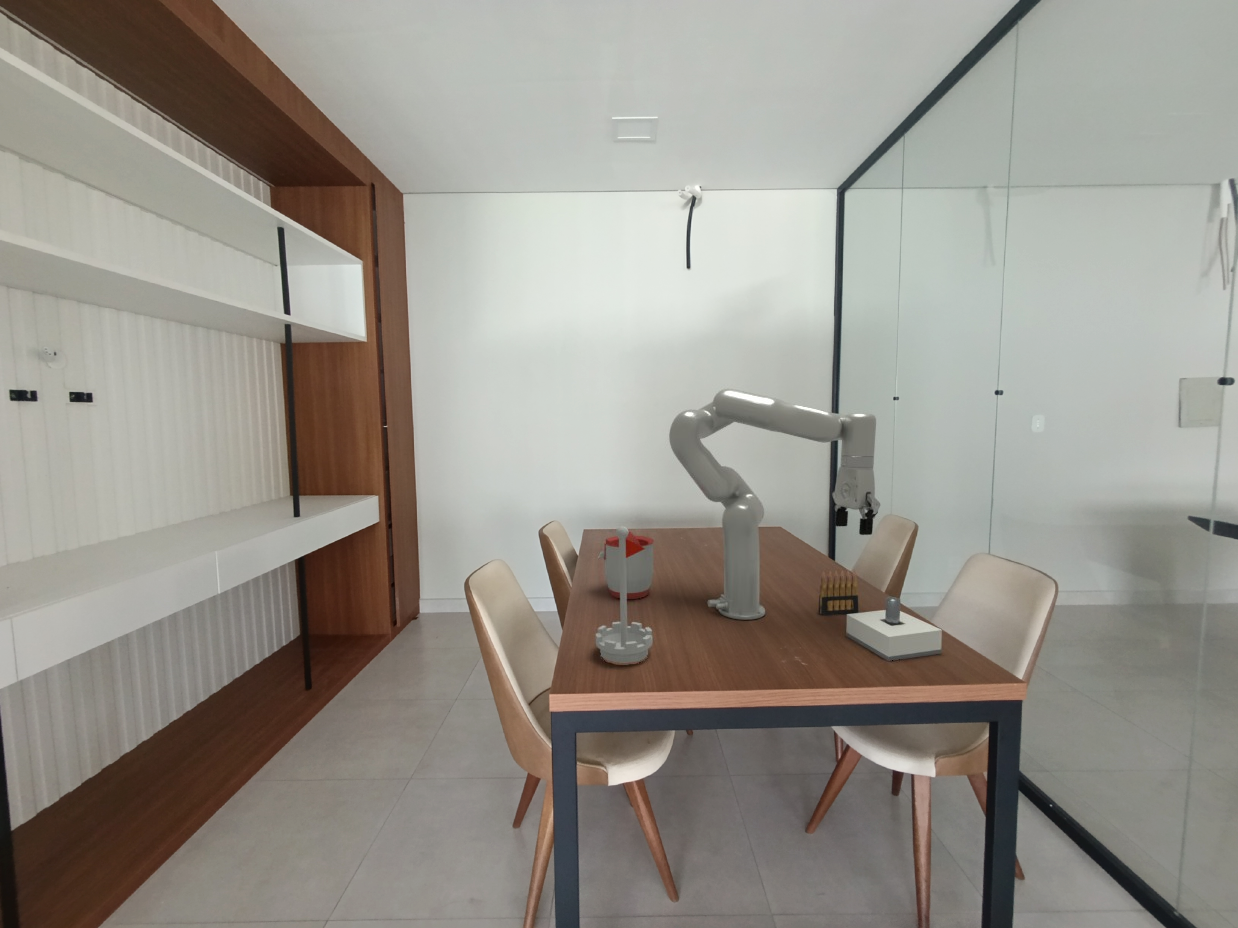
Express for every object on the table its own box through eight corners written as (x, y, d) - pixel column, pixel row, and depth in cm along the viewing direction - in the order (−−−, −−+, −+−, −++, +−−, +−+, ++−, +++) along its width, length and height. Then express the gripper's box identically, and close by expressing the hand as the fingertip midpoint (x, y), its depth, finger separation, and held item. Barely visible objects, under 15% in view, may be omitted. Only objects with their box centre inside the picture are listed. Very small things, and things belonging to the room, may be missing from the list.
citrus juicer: (600, 586, 171) (599, 526, 169) (653, 586, 170) (653, 525, 168) (596, 602, 155) (595, 536, 153) (655, 602, 154) (654, 536, 153)
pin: (891, 643, 121) (892, 601, 120) (881, 638, 124) (883, 597, 123) (901, 642, 122) (903, 600, 121) (892, 637, 125) (893, 596, 124)
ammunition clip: (854, 610, 145) (855, 568, 144) (858, 613, 143) (859, 570, 142) (818, 612, 144) (818, 570, 143) (821, 615, 142) (821, 572, 141)
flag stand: (591, 666, 115) (588, 531, 112) (601, 641, 127) (598, 520, 125) (650, 669, 113) (648, 532, 110) (654, 643, 126) (653, 520, 123)
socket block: (888, 661, 114) (888, 636, 114) (846, 636, 128) (846, 614, 128) (941, 653, 118) (941, 629, 117) (894, 629, 131) (895, 608, 131)
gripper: (823, 459, 138) (820, 523, 140) (866, 466, 121) (862, 538, 123) (848, 459, 140) (845, 522, 141) (894, 466, 123) (890, 537, 124)
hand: (852, 530), depth 132 cm, fingers open, 9 cm apart
